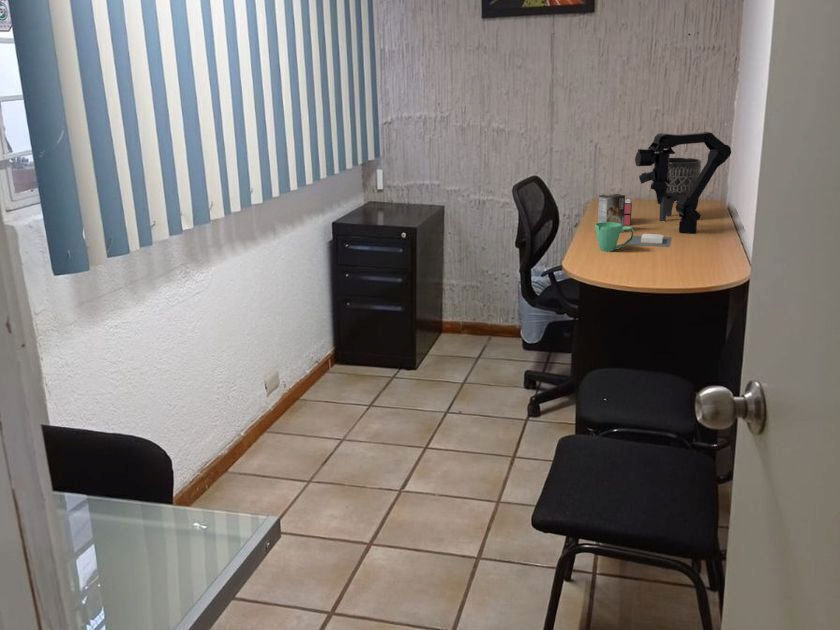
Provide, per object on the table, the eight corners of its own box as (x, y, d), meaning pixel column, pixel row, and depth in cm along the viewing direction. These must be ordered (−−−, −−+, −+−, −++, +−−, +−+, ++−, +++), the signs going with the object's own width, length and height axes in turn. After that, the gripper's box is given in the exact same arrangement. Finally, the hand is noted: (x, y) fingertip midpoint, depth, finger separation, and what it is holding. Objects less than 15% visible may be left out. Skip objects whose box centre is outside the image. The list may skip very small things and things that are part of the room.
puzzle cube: (630, 225, 357) (631, 203, 354) (607, 225, 359) (608, 202, 356) (629, 221, 366) (631, 199, 363) (607, 221, 368) (608, 199, 365)
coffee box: (615, 230, 347) (616, 193, 343) (624, 233, 342) (626, 195, 337) (596, 232, 344) (598, 195, 339) (605, 235, 338) (607, 197, 334)
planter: (700, 216, 371) (705, 158, 363) (692, 224, 355) (697, 163, 347) (656, 214, 380) (660, 156, 372) (647, 221, 364) (650, 162, 356)
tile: (663, 234, 325) (662, 238, 318) (663, 239, 326) (661, 243, 319) (642, 233, 328) (641, 237, 320) (642, 238, 328) (640, 242, 321)
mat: (671, 238, 329) (671, 237, 329) (669, 248, 313) (669, 246, 313) (631, 236, 335) (631, 235, 334) (626, 246, 318) (626, 244, 318)
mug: (592, 252, 311) (593, 226, 308) (596, 246, 319) (597, 221, 316) (632, 254, 306) (633, 228, 303) (634, 248, 315) (635, 223, 312)
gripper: (642, 162, 339) (640, 199, 344) (638, 168, 322) (636, 207, 327) (670, 162, 336) (668, 200, 340) (668, 168, 319) (665, 208, 323)
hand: (659, 203), depth 333 cm, fingers closed
